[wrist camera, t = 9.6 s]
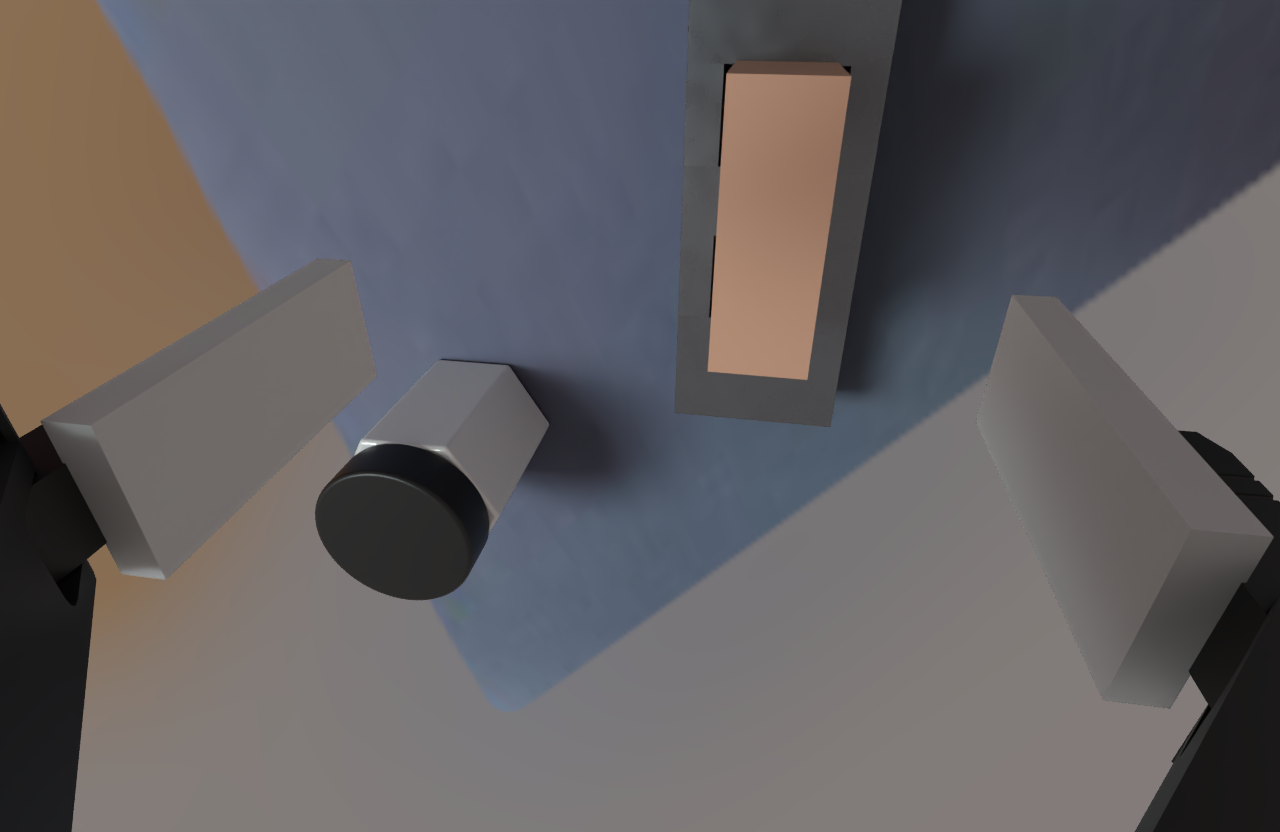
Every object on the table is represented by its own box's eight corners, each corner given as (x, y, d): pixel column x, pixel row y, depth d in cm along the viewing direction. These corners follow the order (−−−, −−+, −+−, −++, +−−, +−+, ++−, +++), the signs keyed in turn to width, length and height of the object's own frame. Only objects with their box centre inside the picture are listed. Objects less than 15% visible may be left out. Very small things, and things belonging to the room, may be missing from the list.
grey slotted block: (703, -93, 29) (693, -105, 26) (903, -95, 28) (920, -108, 25) (683, 378, 40) (674, 412, 37) (826, 390, 39) (830, 427, 36)
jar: (390, 384, 44) (273, 498, 34) (490, 331, 41) (393, 440, 31) (473, 490, 47) (389, 624, 37) (571, 449, 44) (508, 583, 34)
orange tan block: (741, 54, 32) (726, 73, 23) (832, 55, 31) (851, 76, 22) (724, 287, 37) (707, 371, 29) (801, 292, 37) (807, 379, 28)
